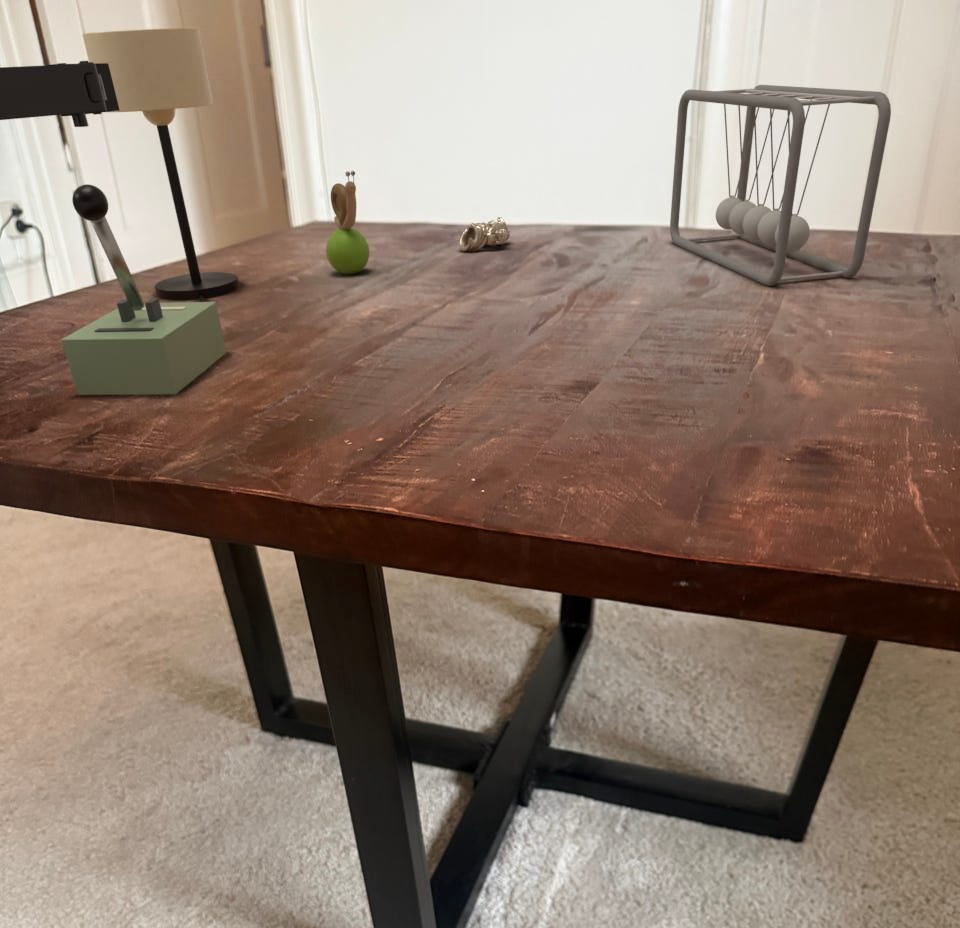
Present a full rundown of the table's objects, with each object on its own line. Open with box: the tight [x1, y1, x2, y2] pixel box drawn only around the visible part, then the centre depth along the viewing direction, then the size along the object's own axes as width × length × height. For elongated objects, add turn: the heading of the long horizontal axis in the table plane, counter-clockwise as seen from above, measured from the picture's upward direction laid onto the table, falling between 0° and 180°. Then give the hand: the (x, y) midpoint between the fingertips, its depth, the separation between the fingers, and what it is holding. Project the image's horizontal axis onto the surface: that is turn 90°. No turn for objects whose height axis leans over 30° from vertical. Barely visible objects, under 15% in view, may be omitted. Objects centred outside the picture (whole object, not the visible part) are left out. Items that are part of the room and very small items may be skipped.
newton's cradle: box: [669, 84, 892, 287], centre depth 102 cm, size 30×10×18 cm, turn 12°
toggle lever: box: [71, 183, 145, 311], centre depth 72 cm, size 3×3×11 cm
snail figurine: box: [325, 170, 370, 276], centre depth 108 cm, size 5×6×12 cm
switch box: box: [60, 297, 227, 396], centre depth 78 cm, size 12×9×7 cm
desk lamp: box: [82, 27, 240, 302], centre depth 97 cm, size 20×12×26 cm, turn 24°
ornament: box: [458, 216, 511, 252], centre depth 120 cm, size 8×7×4 cm
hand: (16, 93), depth 60 cm, fingers open, 13 cm apart
